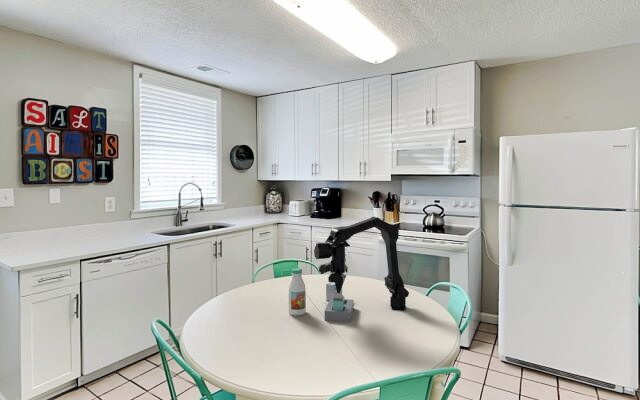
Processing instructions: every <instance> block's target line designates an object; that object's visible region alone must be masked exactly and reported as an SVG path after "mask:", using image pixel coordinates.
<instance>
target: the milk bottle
mask: <svg viewBox="0 0 640 400" xmlns="http://www.w3.org/2000/svg"><path fill="white" fill-rule="evenodd" d="M302 275H303V269H302V268H300V267H294V268H291V279H290V281H289V284H288V302H287V303H288V304H287V305H288V306H287V307H288V309H287V310H288V314H289V315H290V316H299V317H300V316H303V315H305V314H306V310H307V309H306V307H307V306H306V298H307V297H306V292H307V291H306V284H305V282H304V279H303V276H302Z"/></svg>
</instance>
